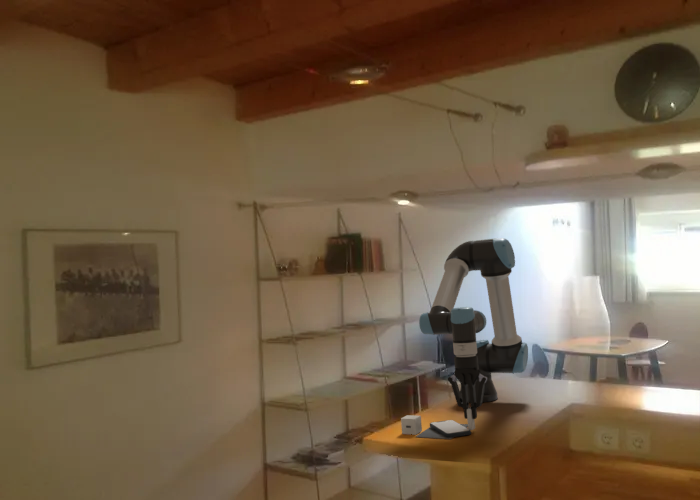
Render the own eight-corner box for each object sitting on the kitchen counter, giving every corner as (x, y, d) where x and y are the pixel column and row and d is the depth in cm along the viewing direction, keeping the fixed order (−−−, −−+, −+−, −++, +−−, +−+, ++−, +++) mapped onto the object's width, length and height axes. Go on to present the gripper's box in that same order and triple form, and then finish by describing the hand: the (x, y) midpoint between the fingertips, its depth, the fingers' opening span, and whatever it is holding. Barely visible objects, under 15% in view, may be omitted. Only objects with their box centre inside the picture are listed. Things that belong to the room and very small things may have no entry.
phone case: (472, 435, 201) (453, 424, 216) (472, 430, 201) (452, 419, 216) (446, 439, 199) (428, 427, 214) (446, 434, 199) (428, 422, 214)
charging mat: (436, 423, 220) (436, 422, 220) (470, 424, 214) (469, 424, 214) (415, 437, 203) (415, 436, 203) (451, 439, 198) (451, 438, 198)
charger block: (408, 430, 213) (406, 415, 213) (421, 431, 211) (420, 415, 211) (401, 434, 209) (400, 418, 209) (416, 434, 206) (414, 419, 206)
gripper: (442, 357, 205) (448, 430, 204) (482, 356, 199) (488, 432, 198) (450, 353, 212) (456, 425, 211) (488, 353, 206) (494, 426, 205)
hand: (471, 428), depth 204 cm, fingers closed
